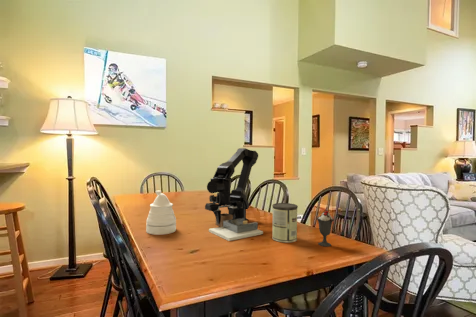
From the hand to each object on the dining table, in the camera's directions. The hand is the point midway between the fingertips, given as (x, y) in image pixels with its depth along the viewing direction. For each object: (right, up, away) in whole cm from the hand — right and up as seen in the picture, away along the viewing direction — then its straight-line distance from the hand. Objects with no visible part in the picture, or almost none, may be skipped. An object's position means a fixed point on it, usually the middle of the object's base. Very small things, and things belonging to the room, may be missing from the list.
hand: (224, 222), depth 136 cm
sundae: (+41, -2, -27) cm, 49 cm away
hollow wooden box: (0, -1, 0) cm, 1 cm away
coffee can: (+26, -2, -21) cm, 33 cm away
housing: (+8, 0, -10) cm, 13 cm away
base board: (+6, -1, -13) cm, 14 cm away
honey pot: (-28, -1, -11) cm, 30 cm away
